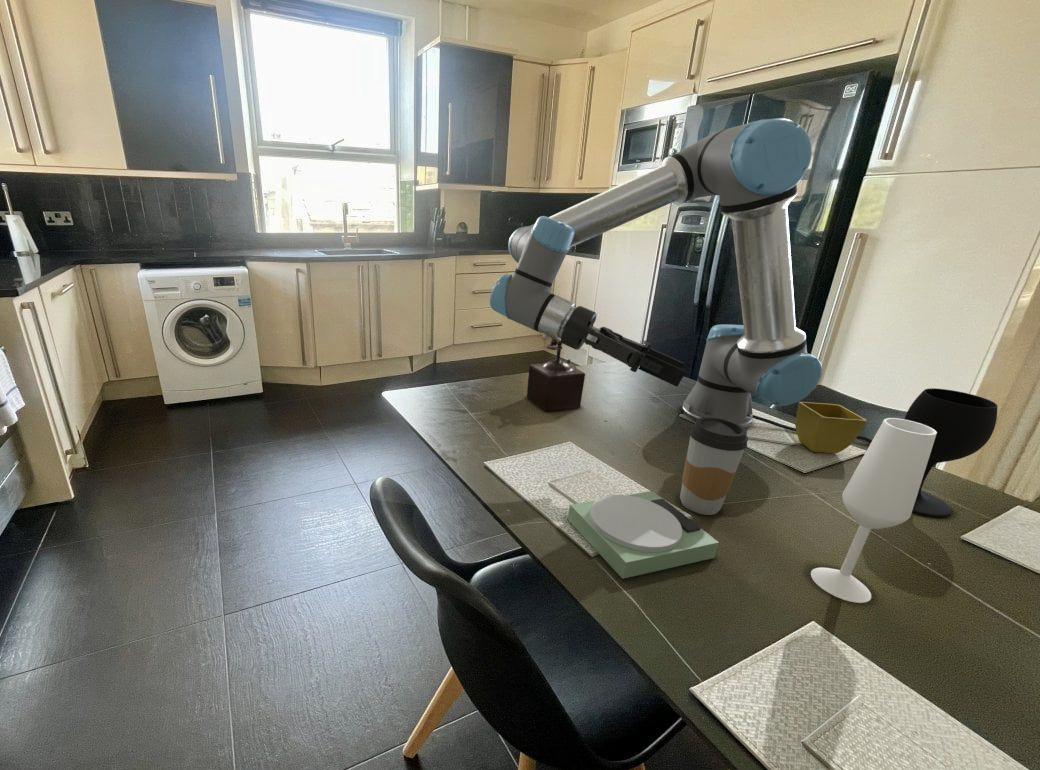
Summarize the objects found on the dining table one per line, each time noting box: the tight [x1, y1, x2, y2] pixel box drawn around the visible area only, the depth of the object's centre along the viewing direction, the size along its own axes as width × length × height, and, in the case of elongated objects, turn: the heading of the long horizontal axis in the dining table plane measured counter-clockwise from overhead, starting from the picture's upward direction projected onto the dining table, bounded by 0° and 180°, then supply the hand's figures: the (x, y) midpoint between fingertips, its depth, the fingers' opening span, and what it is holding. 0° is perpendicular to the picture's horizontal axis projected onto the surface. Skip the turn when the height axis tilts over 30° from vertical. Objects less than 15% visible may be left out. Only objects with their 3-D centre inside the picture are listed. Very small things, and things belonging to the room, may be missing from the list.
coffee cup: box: [679, 417, 749, 516], centre depth 81 cm, size 8×8×15 cm
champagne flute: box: [810, 417, 937, 604], centre depth 62 cm, size 7×7×24 cm
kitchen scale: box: [567, 490, 720, 580], centre depth 74 cm, size 16×14×4 cm
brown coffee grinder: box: [526, 338, 586, 413], centre depth 124 cm, size 16×11×18 cm
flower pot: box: [794, 401, 868, 454], centre depth 104 cm, size 9×9×9 cm
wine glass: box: [903, 387, 998, 518], centre depth 83 cm, size 10×10×20 cm
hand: (681, 374), depth 83 cm, fingers open, 13 cm apart
